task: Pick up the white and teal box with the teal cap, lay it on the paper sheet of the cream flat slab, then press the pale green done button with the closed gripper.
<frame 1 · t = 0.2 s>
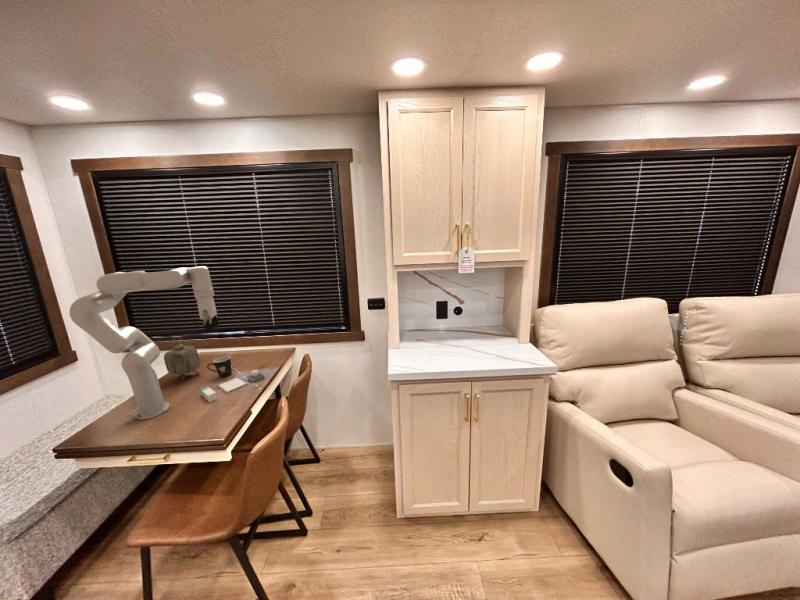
hand: (212, 328, 143), 36 cm above the table, tool pointing down, fingers open, 9 cm apart
coffee mug: (223, 375, 176), on the table
olive green backpack: (186, 377, 177), on the table
button housing: (256, 378, 169), on the table
cream flat slab: (232, 385, 164), on the table
white and teal box: (209, 397, 154), on the table
done button: (255, 373, 168), point 3 cm above the table, slide at 0.0 cm
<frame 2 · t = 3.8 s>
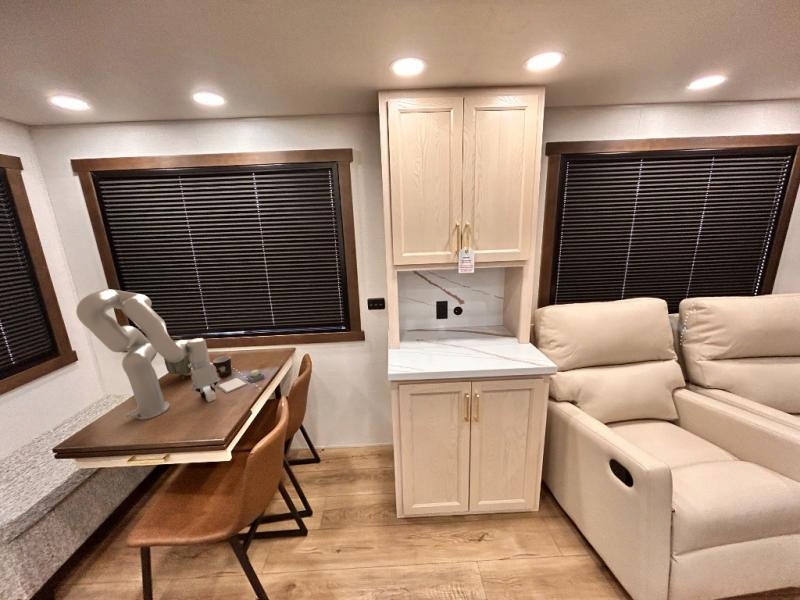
hand: (208, 396, 153), 1 cm above the table, tool pointing down, fingers closed on white and teal box, 3 cm apart
white and teal box: (208, 395, 153), point 1 cm above the table, tilted 9°, touching gripper
everything else where it was.
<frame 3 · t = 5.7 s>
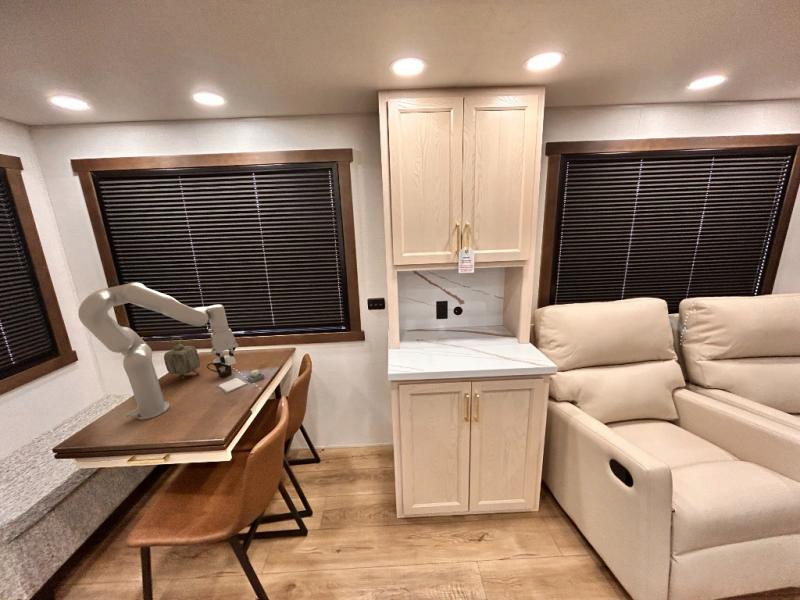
hand: (227, 361, 159), 14 cm above the table, tool pointing down, fingers closed on white and teal box, 3 cm apart
white and teal box: (228, 363, 159), point 13 cm above the table, tilted 9°, touching gripper
everything else where it was.
when the fingers open (2 cm above the table, at t = 8.0 s): white and teal box stays where it is, resting on cream flat slab.
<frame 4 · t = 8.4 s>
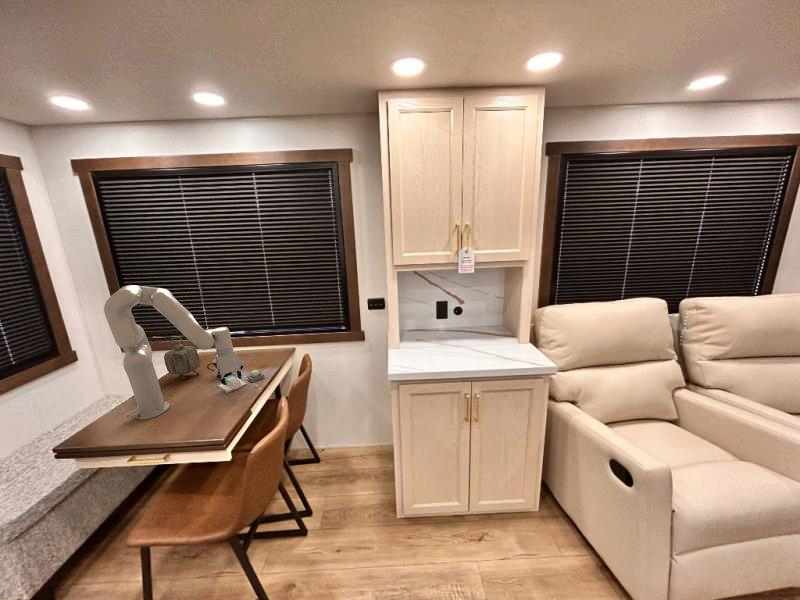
hand: (232, 381, 162), 3 cm above the table, tool pointing down, fingers open, 7 cm apart
white and teal box: (233, 385, 162), point 1 cm above the table, touching cream flat slab
everything else where it was.
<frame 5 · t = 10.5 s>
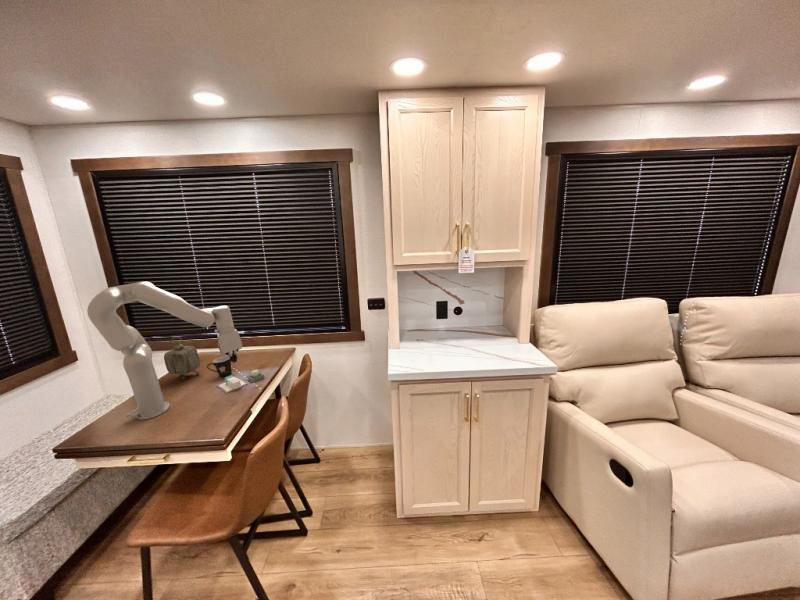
hand: (234, 361, 161), 13 cm above the table, tool pointing down, fingers closed
nothing on the table moved.
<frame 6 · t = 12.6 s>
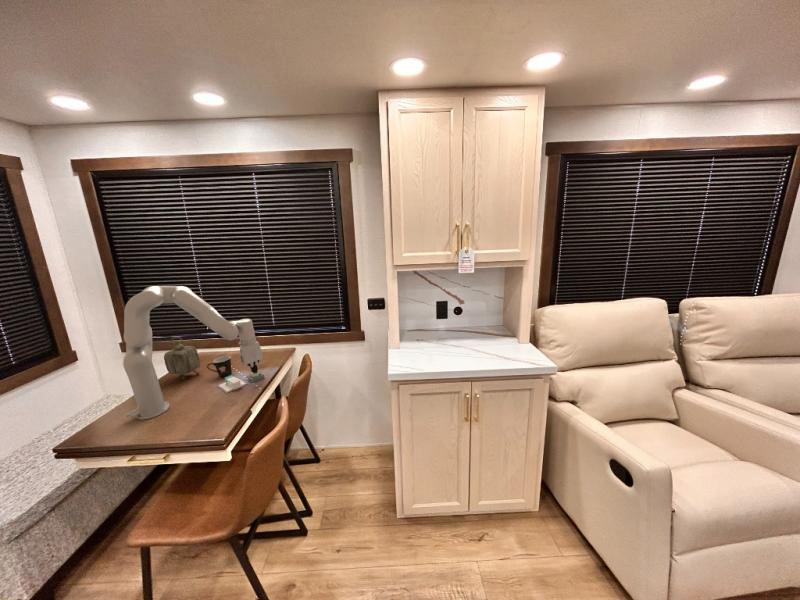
hand: (255, 372, 168), 4 cm above the table, tool pointing down, fingers closed
done button: (255, 374, 169), point 2 cm above the table, slide at 0.6 cm, touching gripper
everything else where it was.
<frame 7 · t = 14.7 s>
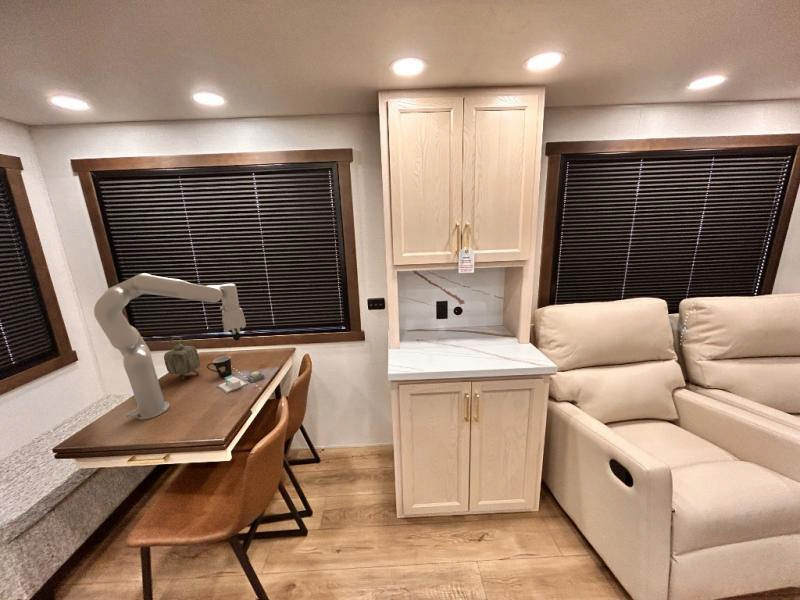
hand: (236, 340, 163), 24 cm above the table, tool pointing down, fingers closed
done button: (255, 375, 169), point 2 cm above the table, slide at 1.0 cm
everything else where it was.
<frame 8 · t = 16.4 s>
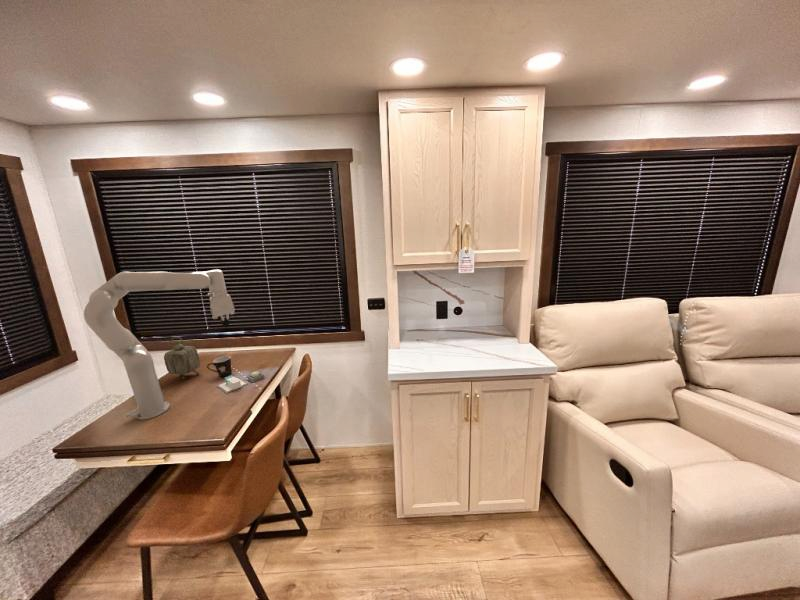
hand: (226, 326, 163), 31 cm above the table, tool pointing down, fingers closed
nothing on the table moved.
at the end: white and teal box inside the target area on the cream flat slab (1.6 cm from its centre), point 0.6 cm above the cream flat slab's base; done button slide at 1.0 cm; the gripper is holding nothing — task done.
